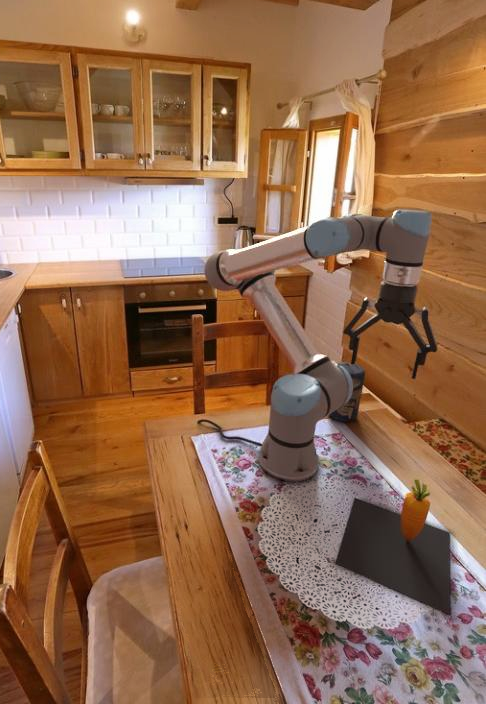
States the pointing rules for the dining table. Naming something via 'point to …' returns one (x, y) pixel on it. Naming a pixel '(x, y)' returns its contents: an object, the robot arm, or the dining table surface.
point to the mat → (397, 554)
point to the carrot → (414, 511)
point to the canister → (352, 406)
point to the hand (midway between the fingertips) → (382, 369)
